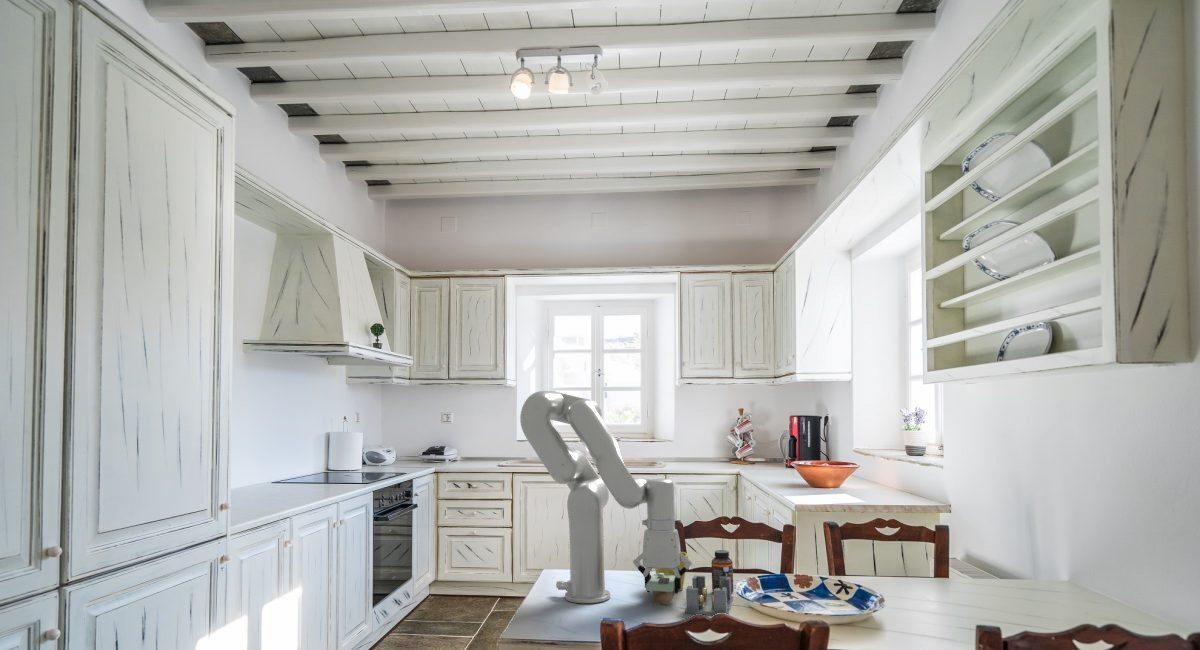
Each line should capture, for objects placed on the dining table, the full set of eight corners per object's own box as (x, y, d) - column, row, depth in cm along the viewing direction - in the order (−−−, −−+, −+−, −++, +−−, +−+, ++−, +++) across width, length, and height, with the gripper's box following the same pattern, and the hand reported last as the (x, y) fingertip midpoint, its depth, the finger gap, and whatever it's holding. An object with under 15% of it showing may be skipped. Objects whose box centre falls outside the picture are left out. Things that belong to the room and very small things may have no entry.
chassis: (684, 613, 196) (683, 589, 196) (693, 597, 211) (692, 574, 212) (728, 615, 193) (727, 591, 194) (733, 599, 208) (732, 576, 209)
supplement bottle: (733, 595, 213) (731, 553, 214) (711, 594, 214) (710, 553, 215) (733, 589, 218) (732, 549, 219) (712, 589, 220) (711, 548, 221)
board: (645, 590, 204) (645, 580, 204) (654, 579, 215) (653, 570, 215) (671, 591, 202) (671, 582, 202) (678, 580, 213) (678, 571, 214)
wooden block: (653, 604, 205) (652, 588, 205) (658, 596, 213) (658, 581, 213) (667, 605, 204) (667, 589, 204) (672, 597, 212) (672, 582, 212)
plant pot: (650, 592, 217) (649, 557, 218) (655, 583, 227) (655, 550, 228) (686, 594, 215) (685, 558, 215) (690, 585, 225) (689, 551, 225)
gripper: (627, 526, 209) (628, 593, 207) (690, 528, 204) (692, 596, 203) (633, 521, 216) (634, 586, 214) (694, 523, 211) (696, 589, 210)
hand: (662, 590), depth 208 cm, fingers closed on board, 7 cm apart
